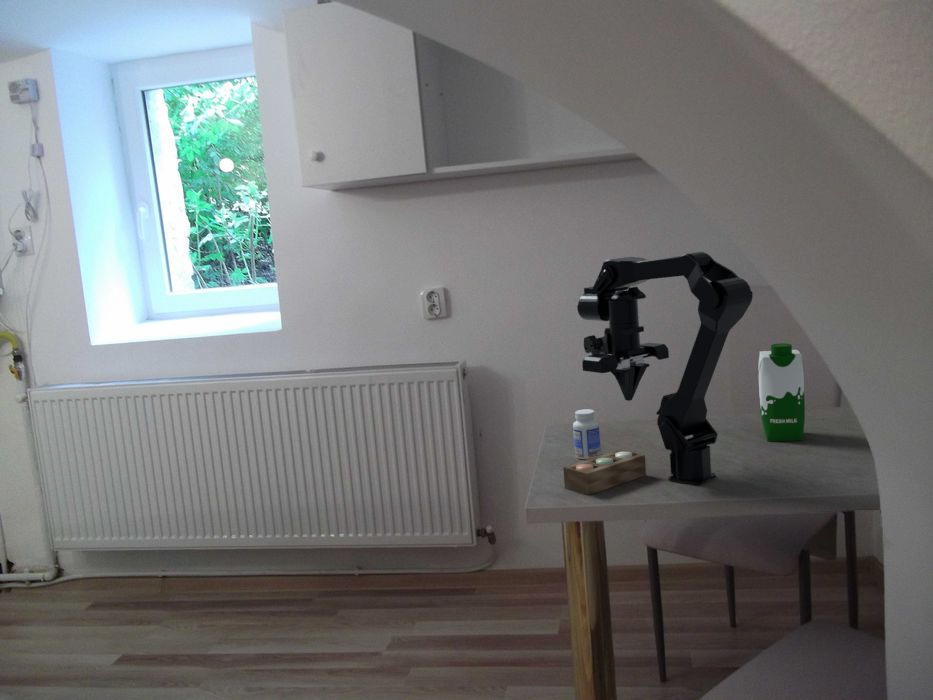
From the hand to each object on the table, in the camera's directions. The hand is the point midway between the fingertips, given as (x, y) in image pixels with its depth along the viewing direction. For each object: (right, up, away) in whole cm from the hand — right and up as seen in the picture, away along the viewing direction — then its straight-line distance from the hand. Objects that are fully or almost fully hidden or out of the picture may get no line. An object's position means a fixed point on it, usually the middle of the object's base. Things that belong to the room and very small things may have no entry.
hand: (628, 400), depth 166 cm
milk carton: (+35, -9, +12) cm, 38 cm away
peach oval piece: (-10, -14, -11) cm, 20 cm away
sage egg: (-6, -13, -8) cm, 16 cm away
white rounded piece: (-2, -12, -5) cm, 13 cm away
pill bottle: (-7, -13, +10) cm, 17 cm away
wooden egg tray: (-6, -15, -8) cm, 18 cm away
